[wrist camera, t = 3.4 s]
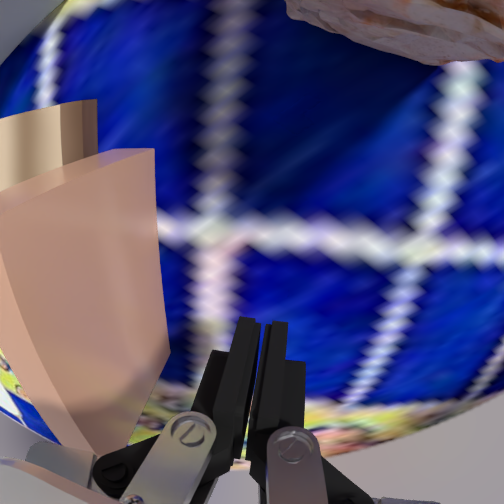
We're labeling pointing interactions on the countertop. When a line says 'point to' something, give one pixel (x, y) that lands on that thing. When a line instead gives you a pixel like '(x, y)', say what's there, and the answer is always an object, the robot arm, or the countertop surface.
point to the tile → (85, 295)
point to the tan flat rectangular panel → (29, 145)
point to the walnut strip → (78, 130)
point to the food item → (413, 26)
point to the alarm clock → (20, 21)
